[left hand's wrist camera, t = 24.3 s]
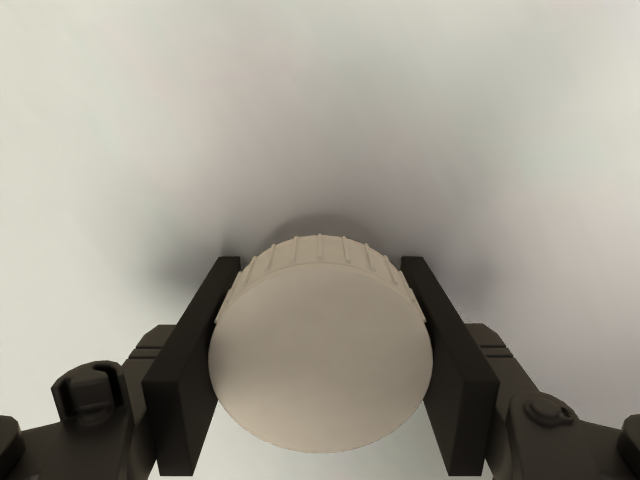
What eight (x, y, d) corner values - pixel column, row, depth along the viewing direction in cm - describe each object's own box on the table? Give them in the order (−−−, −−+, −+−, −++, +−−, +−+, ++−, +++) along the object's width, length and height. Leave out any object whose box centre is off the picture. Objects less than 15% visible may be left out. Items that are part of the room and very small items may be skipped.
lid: (187, 283, 12) (157, 327, 10) (367, 196, 11) (379, 223, 9) (282, 419, 14) (275, 481, 12) (443, 355, 13) (468, 409, 11)
